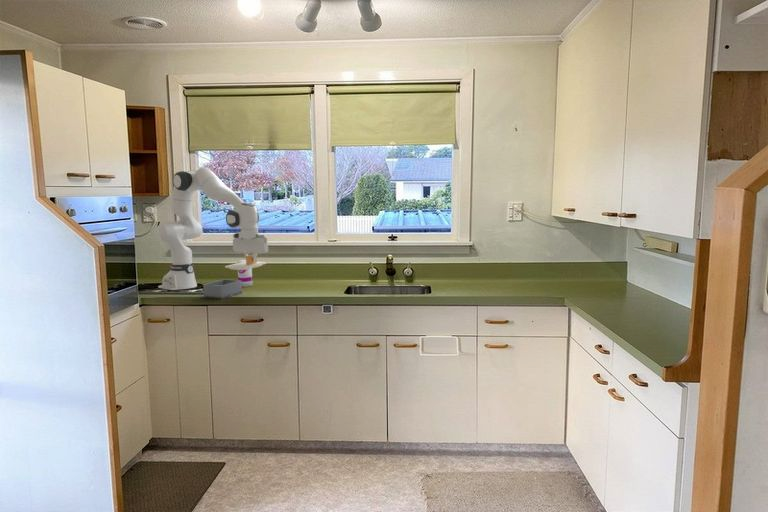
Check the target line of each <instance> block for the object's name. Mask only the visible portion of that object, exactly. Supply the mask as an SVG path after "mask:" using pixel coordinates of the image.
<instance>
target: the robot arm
mask: <svg viewBox="0 0 768 512" xmlns="http://www.w3.org/2000/svg"><path fill="white" fill-rule="evenodd" d="M172 183H173V188H172V192H171V193H172V195H171V206H170V207H171V212H172V214H174V215H176V216H178V218H179V219H178V220H179V221H178V220H175V221H166V222H162V223H160V224H159V225H158V226H157V229H156V234H157V236H158V238H159V240H161V241H163V242H164V243H165V244H166V245H167V246H168V249H169V251H170V254H171V263H172V264H169V268H170V269H169V271H168V272H167V273H166V274H165V275H163V277H162V281H161V283H162V284H160V285H158V286H157V287H158V289H164V290H170V291H178V290H188V289H193V288H197V287H198V283H197V281H196V276H195V275H196V274H195V272H194V269H195V264H194V262H193V251H192V249H191V248H190V247H188V246H186V245H185V244H184V243H183V241H184V240H192V239H195V238H198V237H201V235H202V232H203V227H202V225H201V223H199V221H198V220H196V218H195V217H194V212H193V205H194V204H193V202H194V192H195V191H202V193H203V194H204V195H205V196H206V197H207V198H208V199H210V200H213V201H217V202H223V203H227V204H230V205H231V206H232V207H233V209H231V210H228V211H227V213H226V215H225V222H226V224H227V226H228V227H230V228H233V229H239V228H240V231H238V232H236V233H233V234H232V238H233V239H232V250H233V252H235V253H243V255H244V257H245V258H246V256H249V255H250V253H252V255H254V256H253V258H252V261H256V260H257V257H258V254H265V253H268V252H269V244H268V238H267V236H266V235H265V234H259V225H258V223H259V220H260V214H259V212H258V210H257V206H256V204H254V203H251V202H246V201H245V200H244V199H243V198H242V197H241V196H240V195H239V194H237V192H235V191H234V190H233V189H231V188H230V187H228V186H227V185H226V184H225V183H224V182H223V181H222V180H221V179H220V178H219V176H218V175H216V174H215V172H214V171H212V170H211V169H210V168H208V167H206V166H205V167H200V168H198V169H197V170H194V169H193V170H185V171H183V170H182V171H181V170H180V171H177V172H175V173H174V175H173V178H172Z"/></svg>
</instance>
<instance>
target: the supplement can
mask: <svg viewBox="0 0 768 512" xmlns="http://www.w3.org/2000/svg"><path fill="white" fill-rule="evenodd" d="M241 262H246V259H239V260H237V263H241ZM237 280H241V285H242V288H244V287H251V286H253V284H254V281H253V280H254V279H253V268H252V269H247V270H237Z"/></svg>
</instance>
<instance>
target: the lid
mask: <svg viewBox="0 0 768 512" xmlns="http://www.w3.org/2000/svg"><path fill="white" fill-rule="evenodd" d="M248 255H249V256H246V257H245V260H246V262H241V263H238V262H237V263H234V264H233V263H232V264H229V265H225V266H224V268H225V269H229V270H235V271H238V270H247V269H252V270H253V269H255V268H260V267H263V265H266V264H267V261H257V259H256V261H252V258H253V256H254V255H253V254H248Z"/></svg>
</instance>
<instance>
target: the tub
mask: <svg viewBox="0 0 768 512" xmlns="http://www.w3.org/2000/svg"><path fill="white" fill-rule="evenodd" d="M202 287H203V298H205V299H216V300H217V299H218V300H224V299H226V298H230V297H232V296H231V295H234V296H236V295H235V294H237V295H239V293H240V294H243V287H242V285H241V280H238V279H225V278H224V279H220V280H219V279H218V280H215V281H212V282H208V283H204V284H202ZM229 296H230V297H229Z"/></svg>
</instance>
